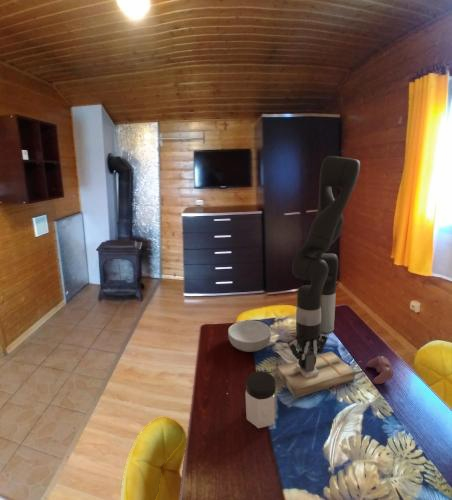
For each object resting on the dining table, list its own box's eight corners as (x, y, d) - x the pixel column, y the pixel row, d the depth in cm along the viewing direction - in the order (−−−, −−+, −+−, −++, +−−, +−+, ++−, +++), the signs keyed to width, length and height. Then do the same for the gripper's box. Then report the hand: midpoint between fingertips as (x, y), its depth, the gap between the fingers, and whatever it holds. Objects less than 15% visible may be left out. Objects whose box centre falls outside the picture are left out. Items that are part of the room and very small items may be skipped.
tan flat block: (277, 373, 104) (277, 366, 103) (331, 358, 110) (331, 350, 109) (295, 398, 93) (295, 389, 92) (354, 379, 99) (355, 371, 98)
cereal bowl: (280, 347, 118) (280, 331, 116) (246, 364, 109) (245, 347, 107) (252, 330, 132) (252, 315, 130) (220, 343, 123) (219, 328, 121)
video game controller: (385, 390, 96) (398, 374, 94) (372, 383, 96) (385, 367, 94) (376, 369, 105) (388, 354, 103) (364, 363, 106) (376, 348, 103)
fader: (295, 366, 102) (295, 348, 100) (308, 363, 103) (308, 345, 101) (305, 378, 96) (306, 359, 94) (319, 374, 98) (319, 355, 96)
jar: (250, 431, 82) (249, 394, 79) (242, 408, 90) (241, 374, 86) (281, 423, 84) (281, 387, 81) (271, 402, 91) (270, 368, 88)
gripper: (320, 309, 100) (318, 354, 105) (282, 317, 96) (282, 364, 100) (335, 319, 93) (332, 367, 98) (295, 329, 89) (294, 378, 94)
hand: (307, 365), depth 99 cm, fingers closed on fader, 3 cm apart
